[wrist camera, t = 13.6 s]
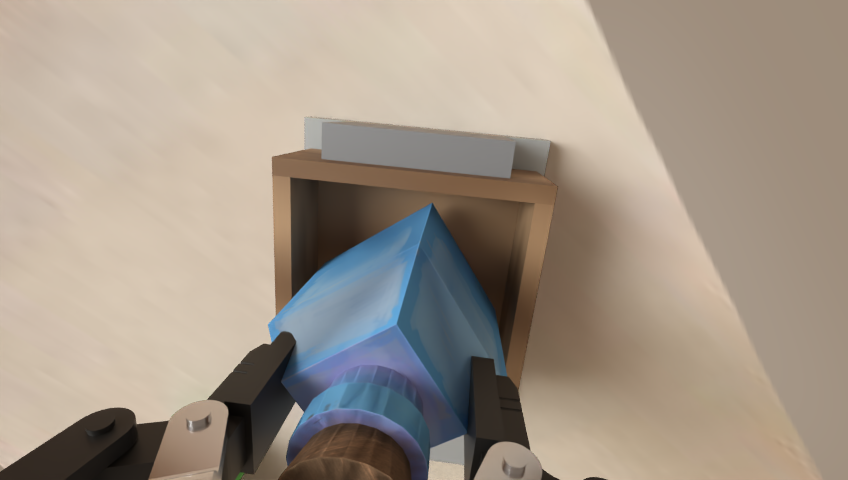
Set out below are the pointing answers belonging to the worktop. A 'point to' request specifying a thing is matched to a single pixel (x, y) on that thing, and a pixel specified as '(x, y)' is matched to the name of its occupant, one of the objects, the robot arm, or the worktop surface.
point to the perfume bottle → (385, 354)
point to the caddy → (397, 199)
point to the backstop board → (427, 154)
